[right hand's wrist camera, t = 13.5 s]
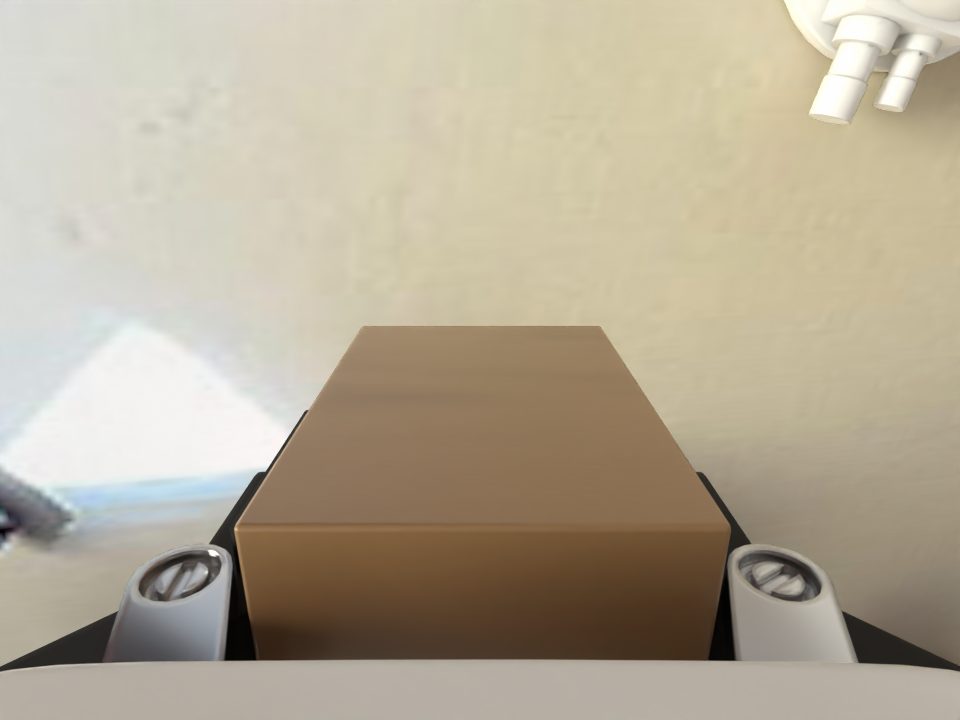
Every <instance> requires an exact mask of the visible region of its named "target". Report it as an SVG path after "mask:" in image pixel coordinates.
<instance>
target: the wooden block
mask: <svg viewBox="0 0 960 720" xmlns="http://www.w3.org/2000/svg"><path fill="white" fill-rule="evenodd" d="M234 532H235V538H236V544H237V549H238V555H239V561H240V567H241V573H242V579H243V585H244V590H245V596H246V602H247V608H248V614H249V620H250V626H251V631H252V637H253V643H254V649H255V655H256V661H286V660H675V661H708V660H709V654H710V649H711V643H712V637H713V632H714V626H715V620H716V614H717V609H718V603H719V597H720V591H721V586H722V580H723V574H724V569H725V563H726V557H727V551H728V546H729V540H730V534H731V527H730V524H729V523H728V521H727V519H726V518H725V516H724V515H723V513H722V512H721V510H720V509H719V507H718V506H717V504H716V503H715V501H714V500H713V498H712V497H711V495H710V493H709V492H708V490H707V489H706V487H705V486H704V484H703V483H702V481H701V480H700V478H699V477H698V475H697V474H696V472H695V471H694V469H693V468H692V466H691V464H690V463H689V461H688V460H687V458H686V457H685V455H684V454H683V452H682V451H681V449H680V448H679V446H678V445H677V443H676V442H675V440H674V438H673V437H672V435H671V434H670V432H669V431H668V429H667V428H666V426H665V425H664V423H663V422H662V420H661V419H660V417H659V416H658V414H657V413H656V411H655V409H654V408H653V406H652V405H651V403H650V402H649V400H648V399H647V397H646V396H645V394H644V393H643V391H642V390H641V388H640V387H639V385H638V383H637V382H636V380H635V379H634V377H633V376H632V374H631V373H630V371H629V370H628V368H627V367H626V365H625V364H624V362H623V361H622V359H621V357H620V356H619V354H618V353H617V351H616V350H615V348H614V347H613V345H612V344H611V342H610V341H609V339H608V338H607V336H606V335H605V333H604V332H603V330H602V328H601V327H599V326H363V327H362V328H361V329H360V331H359V332H358V334H357V335H356V337H355V339H354V340H353V342H352V343H351V345H350V346H349V348H348V349H347V351H346V353H345V354H344V356H343V357H342V359H341V360H340V362H339V364H338V365H337V367H336V368H335V370H334V371H333V373H332V375H331V376H330V378H329V379H328V381H327V382H326V384H325V385H324V387H323V389H322V390H321V392H320V393H319V395H318V396H317V398H316V400H315V401H314V403H313V404H312V406H311V407H310V409H309V411H308V412H307V414H306V415H305V417H304V418H303V420H302V421H301V423H300V425H299V426H298V428H297V429H296V431H295V432H294V434H293V436H292V437H291V439H290V440H289V442H288V443H287V445H286V447H285V448H284V450H283V451H282V453H281V454H280V456H279V457H278V459H277V461H276V462H275V464H274V465H273V467H272V468H271V470H270V472H269V473H268V475H267V476H266V478H265V479H264V481H263V482H262V484H261V486H260V487H259V489H258V490H257V492H256V493H255V495H254V497H253V498H252V500H251V501H250V503H249V504H248V506H247V508H246V509H245V511H244V512H243V514H242V515H241V517H240V518H239V520H238V522H237V523H236V525H235V528H234Z"/></svg>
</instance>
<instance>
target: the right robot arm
mask: <svg viewBox="0 0 960 720" xmlns="http://www.w3.org/2000/svg"><path fill="white" fill-rule="evenodd" d="M784 2H785V4H786V7H787V9H788V11H789V14H790V16H791V18H792V20H793V22H794V23H795V25H796V26H797V28H798V29H799V30H800V32H801V33H802V35H803V36H804V37H805V39H806V40H807V41H808V42H809V43H810V44H811V45H813V46H814V47H815V48H816V49H817V50H818V51H819V52H821V53H822V54H823V55H824V56H826V57H828V58H830V59H832V60H833V62H832V64H831V66H830V69H829V71H828V73H827V75H826V76H824V79H823V81H822V83H821V86H820V88H819V90H818V93H817V95H816V97H815V100H814V102H813V105H812V107H811V109H810V112H809V114H808V116H810V117H811V118H814V119H817V120H820V121H824V122H828V123H833V124H839V125H849V124H851V122H852V119H853V117H854V115H855V113H856V111H857V108H858V106H859V104H860V102H861V99H862V97H863V95H864V93H865V91H866V88H867V86H868V85H867V81H868V79H869V76H870V74H871V72H889V73H888V75H887V77H885V78H884V80H883V82H882V85H881V87H880V89H879V91H878V93H877V96H876V98H875V100H874V102H873V104H872V105H873V106H874V107H876V108H878V109H882V110H886V111H892V112H903V111H904V110H905V108H906V106H907V104H908V102H909V100H910V98H911V96H912V94H913V92H914V89H915V87H916V85H917V79H918V77H919V75H920V73H921V71H922V69H923V67H924V65H927V64H931V63H935V62H938V61H940V60H942V59H944V58H946V57H948V56H950V55H953V54H955V53H957V52H959V51H960V0H784ZM308 411H309V410H306V411H305V412H304V414H303V415H302V417H301V418H300V420H299V421H298V423H297V424H296V426H295V427H294V429H293V431H292V432H291V434H290V435H289V437H288V438H287V440H286V441H285V443H284V444H283V446H282V448H281V449H280V451H279V452H278V454H277V455H276V457H275V458H274V460H273V461H272V463H271V464H270V466H269V468H268V469H267V471H266V472H259V473H257V474H256V475H255V477H254V478H253V479H252V481H251V482H250V484H249V485H248V487H247V488H246V490H245V491H244V493H243V494H242V496H241V497H240V499H239V500H238V502H237V503H236V505H235V506H234V508H233V509H232V511H231V512H230V514H229V515H228V517H227V518H226V519H225V521H224V522H223V524H222V525H221V527H220V528H219V530H218V531H217V533H216V534H215V536H214V537H213V539H212V540H211V542H210V543H209V544H193V545H186V546H182V547H178V548H174V549H171V550H169V551H166V552H164V553H162V554H159V555H157V556H155V557H154V558H152V559H151V560H149V561H148V562H146V563H144V564H143V565H142V566H141V567H140V568H139V569H138V570H137V571H136V572H135V573H134V574H133V575H132V577H131V578H130V580H129V582H128V584H127V586H126V589H125V592H124V595H123V598H122V601H121V604H120V607H119V610H118V611H117V612H115V613H113V614H111V615H109V616H107V617H105V618H102V619H100V620H98V621H96V622H94V623H92V624H90V625H88V626H86V627H83V628H81V629H79V630H77V631H75V632H73V633H71V634H69V635H66V636H64V637H62V638H60V639H58V640H56V641H54V642H52V643H50V644H47V645H45V646H43V647H41V648H39V649H37V650H35V651H33V652H31V653H28V654H26V655H24V656H22V657H20V658H18V659H16V660H14V661H11V662H9V663H7V664H5V665H3V666H1V667H0V720H960V667H959V666H957V665H955V664H953V663H951V662H949V661H947V660H945V659H942V658H940V657H938V656H936V655H934V654H932V653H930V652H928V651H926V650H923V649H921V648H919V647H917V646H915V645H913V644H911V643H909V642H907V641H904V640H902V639H900V638H898V637H896V636H894V635H892V634H890V633H887V632H885V631H883V630H881V629H879V628H877V627H875V626H873V625H871V624H868V623H866V622H864V621H862V620H860V619H858V618H856V617H854V616H852V615H849V614H847V613H845V612H843V611H842V610H841V607H840V604H839V601H838V598H837V595H836V592H835V589H834V586H833V584H832V582H831V580H830V578H829V577H828V575H827V574H826V573H825V572H824V571H823V570H822V569H821V568H820V567H819V566H818V565H817V564H816V563H814V562H812V561H811V560H809V559H808V558H806V557H805V556H803V555H801V554H798V553H796V552H794V551H791V550H789V549H786V548H782V547H778V546H774V545H767V544H751V543H750V541H749V540H748V538H747V537H746V535H745V534H744V532H743V531H742V529H741V528H740V526H739V525H738V523H737V522H736V520H735V519H734V517H733V516H732V514H731V513H730V511H729V510H728V509H727V507H726V506H725V504H724V503H723V501H722V500H721V498H720V497H719V495H718V494H717V492H716V491H715V489H714V488H713V486H712V485H711V483H710V482H709V480H708V479H707V477H706V476H705V475H704V474H703V473H701V472H696V474H697V475H698V477H699V478H700V480H701V481H702V483H703V484H704V486H705V487H706V489H707V490H708V492H709V493H710V495H711V497H712V498H713V500H714V501H715V503H716V504H717V506H718V507H719V509H720V510H721V512H722V513H723V515H724V516H725V518H726V519H727V521H728V523H729V524H730V527H731V534H730V540H729V546H728V551H727V557H726V563H725V569H724V574H723V580H722V586H721V591H720V597H719V603H718V609H717V614H716V620H715V626H714V632H713V637H712V643H711V649H710V654H709V660H708V661H675V660H286V661H256V655H255V649H254V643H253V637H252V631H251V626H250V620H249V614H248V608H247V602H246V596H245V590H244V585H243V579H242V573H241V567H240V561H239V555H238V549H237V544H236V538H235V532H234V528H235V525H236V523H237V522H238V520H239V518H240V517H241V515H242V514H243V512H244V511H245V509H246V508H247V506H248V504H249V503H250V501H251V500H252V498H253V497H254V495H255V493H256V492H257V490H258V489H259V487H260V486H261V484H262V482H263V481H264V479H265V478H266V476H267V475H268V473H269V472H270V470H271V468H272V467H273V465H274V464H275V462H276V461H277V459H278V457H279V456H280V454H281V453H282V451H283V450H284V448H285V447H286V445H287V443H288V442H289V440H290V439H291V437H292V436H293V434H294V432H295V431H296V429H297V428H298V426H299V425H300V423H301V421H302V420H303V418H304V417H305V415H306V414H307V412H308Z"/></svg>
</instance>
